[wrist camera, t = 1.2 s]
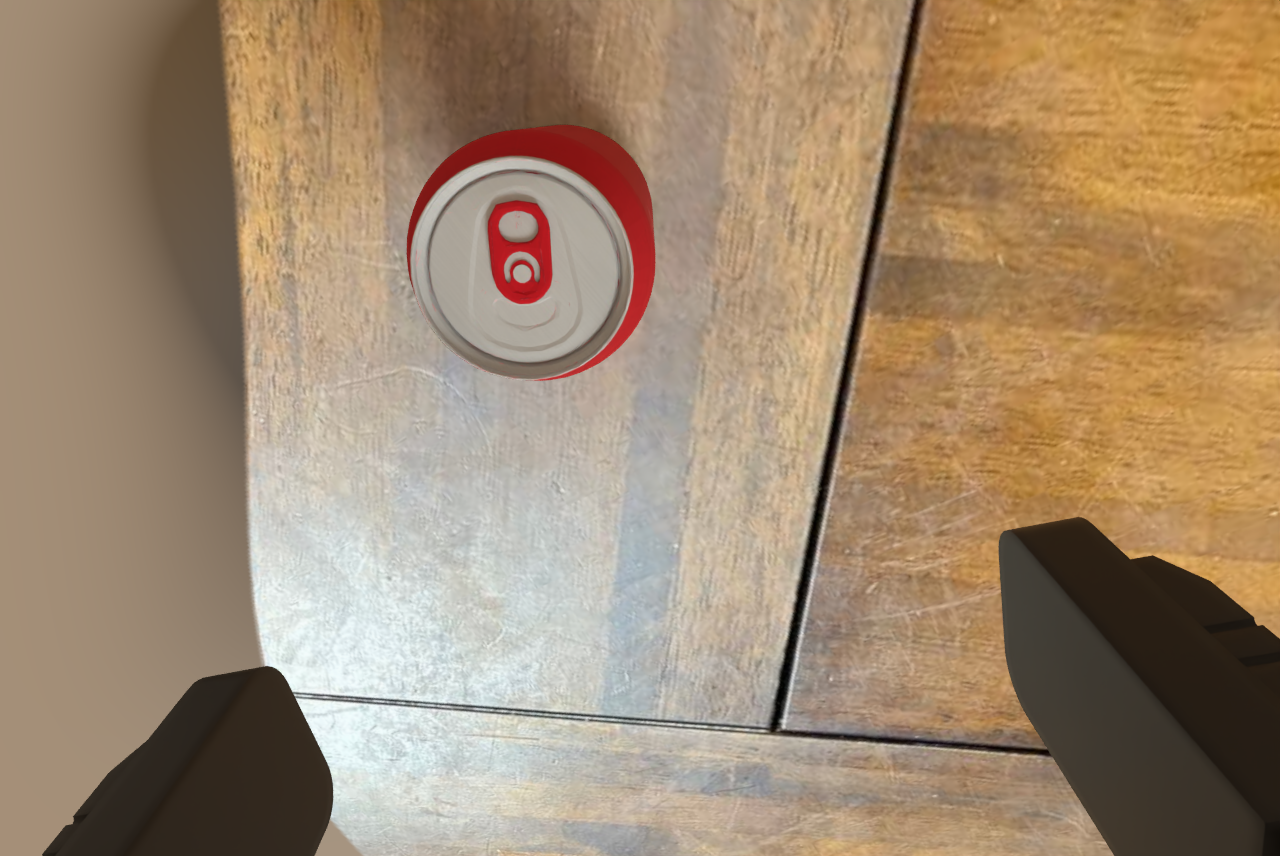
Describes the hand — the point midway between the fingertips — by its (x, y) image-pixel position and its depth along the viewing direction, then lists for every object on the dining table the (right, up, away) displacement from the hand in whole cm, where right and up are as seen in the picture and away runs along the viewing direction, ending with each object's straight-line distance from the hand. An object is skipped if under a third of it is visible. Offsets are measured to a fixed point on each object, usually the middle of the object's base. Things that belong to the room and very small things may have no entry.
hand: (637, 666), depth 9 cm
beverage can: (-3, +11, +21) cm, 23 cm away
